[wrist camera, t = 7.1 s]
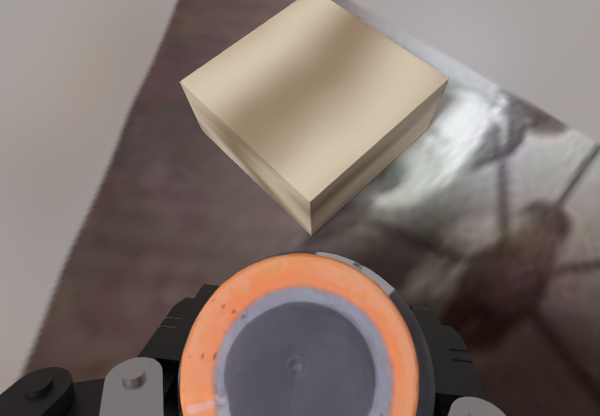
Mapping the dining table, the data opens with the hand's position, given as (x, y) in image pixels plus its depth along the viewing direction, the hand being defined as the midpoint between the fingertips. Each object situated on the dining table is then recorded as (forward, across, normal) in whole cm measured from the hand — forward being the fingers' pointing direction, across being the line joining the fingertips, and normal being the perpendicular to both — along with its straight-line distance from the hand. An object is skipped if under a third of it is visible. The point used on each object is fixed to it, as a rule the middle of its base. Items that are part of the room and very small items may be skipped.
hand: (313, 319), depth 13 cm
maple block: (+11, +1, -4) cm, 12 cm away
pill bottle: (+2, 0, +5) cm, 5 cm away
